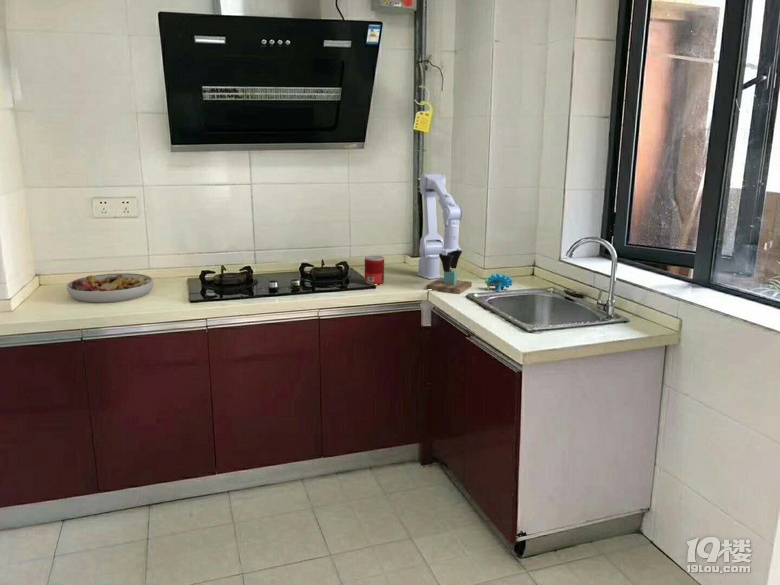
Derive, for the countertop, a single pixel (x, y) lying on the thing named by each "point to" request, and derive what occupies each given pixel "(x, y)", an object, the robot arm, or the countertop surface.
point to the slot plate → (449, 286)
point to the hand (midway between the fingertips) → (449, 269)
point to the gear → (499, 281)
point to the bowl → (110, 287)
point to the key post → (450, 277)
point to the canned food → (374, 269)
